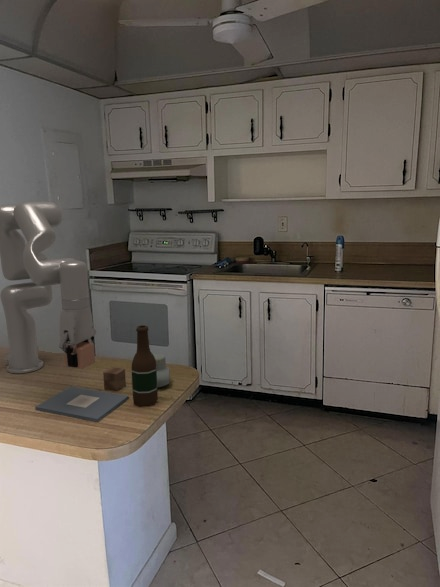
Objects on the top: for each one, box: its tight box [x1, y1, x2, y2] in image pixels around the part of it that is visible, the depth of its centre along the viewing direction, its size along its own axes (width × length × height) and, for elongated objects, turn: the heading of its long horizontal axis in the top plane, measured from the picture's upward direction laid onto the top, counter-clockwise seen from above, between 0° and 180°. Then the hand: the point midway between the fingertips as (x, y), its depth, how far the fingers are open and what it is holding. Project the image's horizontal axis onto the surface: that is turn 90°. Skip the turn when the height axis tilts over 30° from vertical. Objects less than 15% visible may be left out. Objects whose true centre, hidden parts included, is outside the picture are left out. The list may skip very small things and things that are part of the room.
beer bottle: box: [131, 325, 158, 408], centre depth 133 cm, size 8×8×24 cm
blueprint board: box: [34, 385, 130, 423], centre depth 134 cm, size 22×16×1 cm
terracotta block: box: [63, 342, 96, 370], centre depth 131 cm, size 6×6×6 cm
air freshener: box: [152, 353, 171, 389], centre depth 148 cm, size 11×8×10 cm
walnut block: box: [102, 366, 127, 392], centre depth 146 cm, size 5×5×6 cm
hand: (80, 362), depth 131 cm, fingers closed on terracotta block, 6 cm apart
